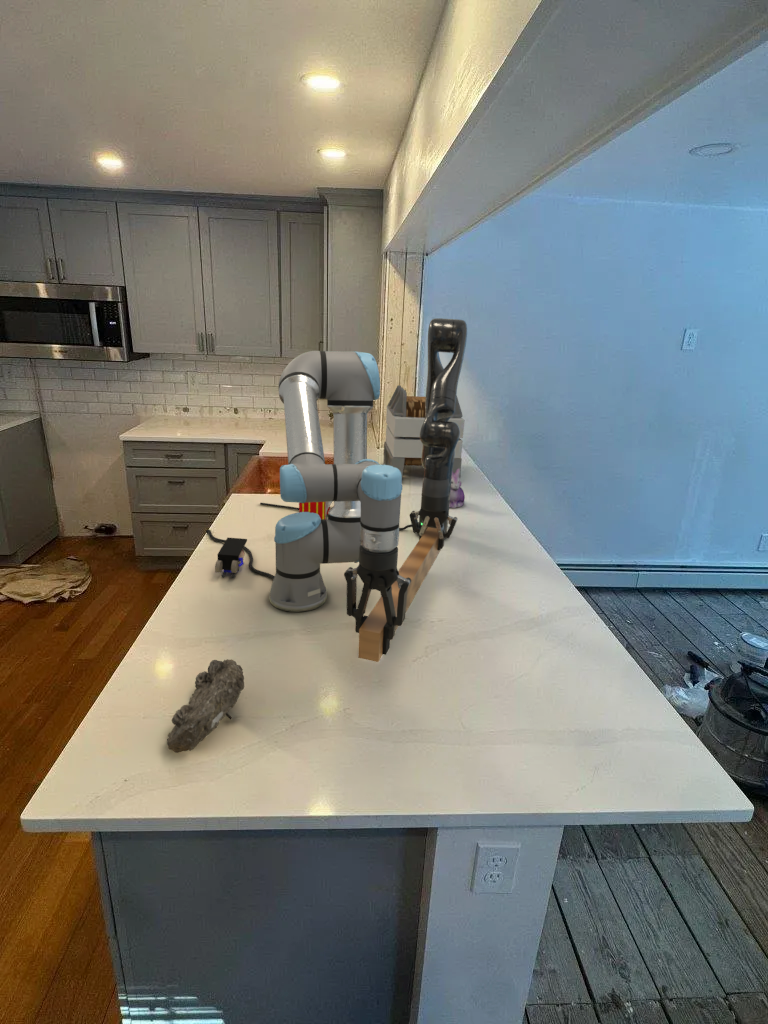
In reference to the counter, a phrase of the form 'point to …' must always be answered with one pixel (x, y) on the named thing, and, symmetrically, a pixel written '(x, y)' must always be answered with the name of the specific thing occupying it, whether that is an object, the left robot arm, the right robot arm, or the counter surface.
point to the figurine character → (230, 556)
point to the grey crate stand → (412, 431)
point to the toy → (316, 508)
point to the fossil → (206, 705)
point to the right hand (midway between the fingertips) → (431, 547)
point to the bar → (416, 571)
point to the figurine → (456, 491)
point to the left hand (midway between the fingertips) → (374, 648)
